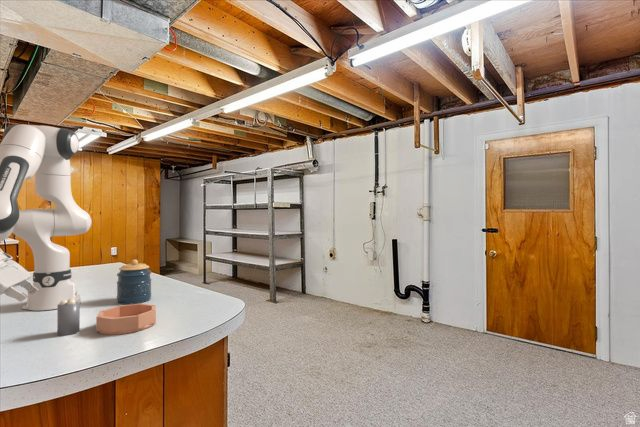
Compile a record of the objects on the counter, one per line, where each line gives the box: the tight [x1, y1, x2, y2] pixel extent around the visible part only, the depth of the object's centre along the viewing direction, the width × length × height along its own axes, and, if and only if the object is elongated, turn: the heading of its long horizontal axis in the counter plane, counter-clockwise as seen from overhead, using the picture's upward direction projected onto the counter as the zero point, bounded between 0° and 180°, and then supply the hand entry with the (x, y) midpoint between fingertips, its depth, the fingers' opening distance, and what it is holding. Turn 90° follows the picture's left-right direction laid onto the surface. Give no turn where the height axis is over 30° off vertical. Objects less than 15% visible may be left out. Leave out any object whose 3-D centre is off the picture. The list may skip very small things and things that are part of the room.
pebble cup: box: [56, 298, 81, 337], centre depth 103 cm, size 6×6×10 cm
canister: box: [116, 259, 153, 305], centre depth 141 cm, size 13×13×18 cm
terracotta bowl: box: [95, 303, 157, 336], centre depth 109 cm, size 16×16×5 cm
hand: (30, 295), depth 98 cm, fingers open, 8 cm apart
